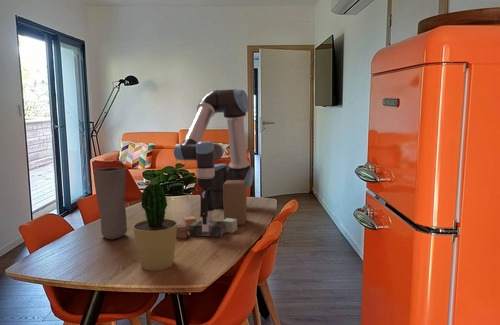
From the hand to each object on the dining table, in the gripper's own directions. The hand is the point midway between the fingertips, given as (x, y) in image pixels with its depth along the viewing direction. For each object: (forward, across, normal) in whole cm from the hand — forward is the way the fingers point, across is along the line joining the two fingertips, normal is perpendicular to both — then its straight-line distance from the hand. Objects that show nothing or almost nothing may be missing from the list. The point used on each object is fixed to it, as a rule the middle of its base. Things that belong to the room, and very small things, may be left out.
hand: (207, 228), depth 183 cm
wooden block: (+3, -18, +10) cm, 21 cm away
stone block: (+3, 0, 0) cm, 3 cm away
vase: (+3, +7, -40) cm, 41 cm away
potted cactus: (+3, +36, -11) cm, 37 cm away
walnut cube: (+3, +4, -11) cm, 12 cm away
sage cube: (+3, -6, +9) cm, 11 cm away
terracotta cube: (+3, -8, -10) cm, 13 cm away
